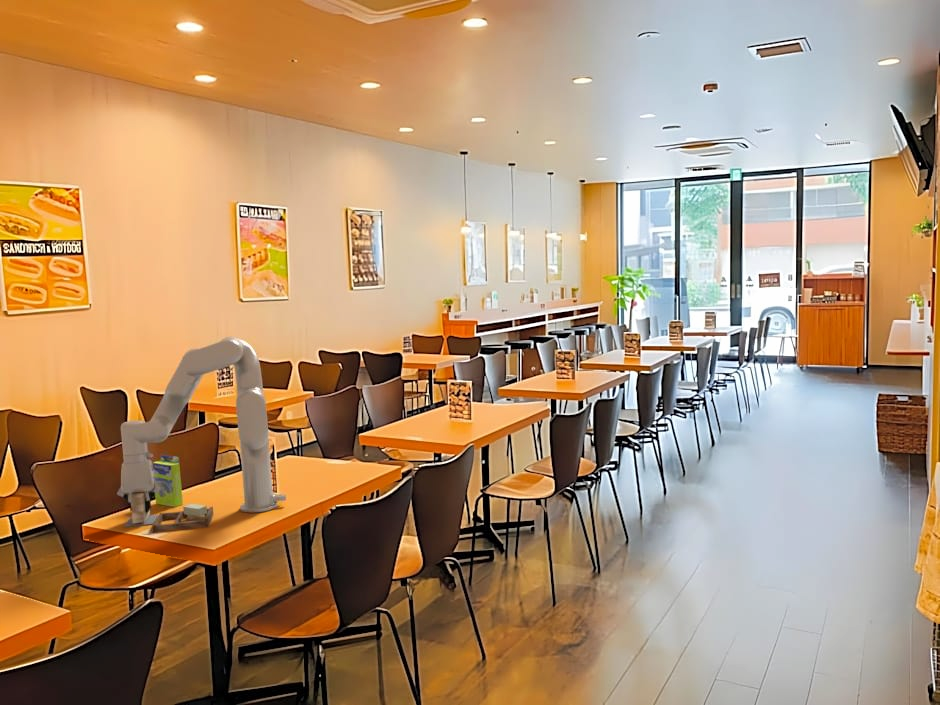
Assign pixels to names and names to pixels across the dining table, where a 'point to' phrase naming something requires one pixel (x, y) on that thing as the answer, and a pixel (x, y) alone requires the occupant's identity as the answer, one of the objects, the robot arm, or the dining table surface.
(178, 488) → the box
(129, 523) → the mat
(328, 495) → the dining table surface
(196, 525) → the rack
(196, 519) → the offcut low
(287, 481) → the dining table surface
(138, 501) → the beige rectangular block
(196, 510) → the offcut top
